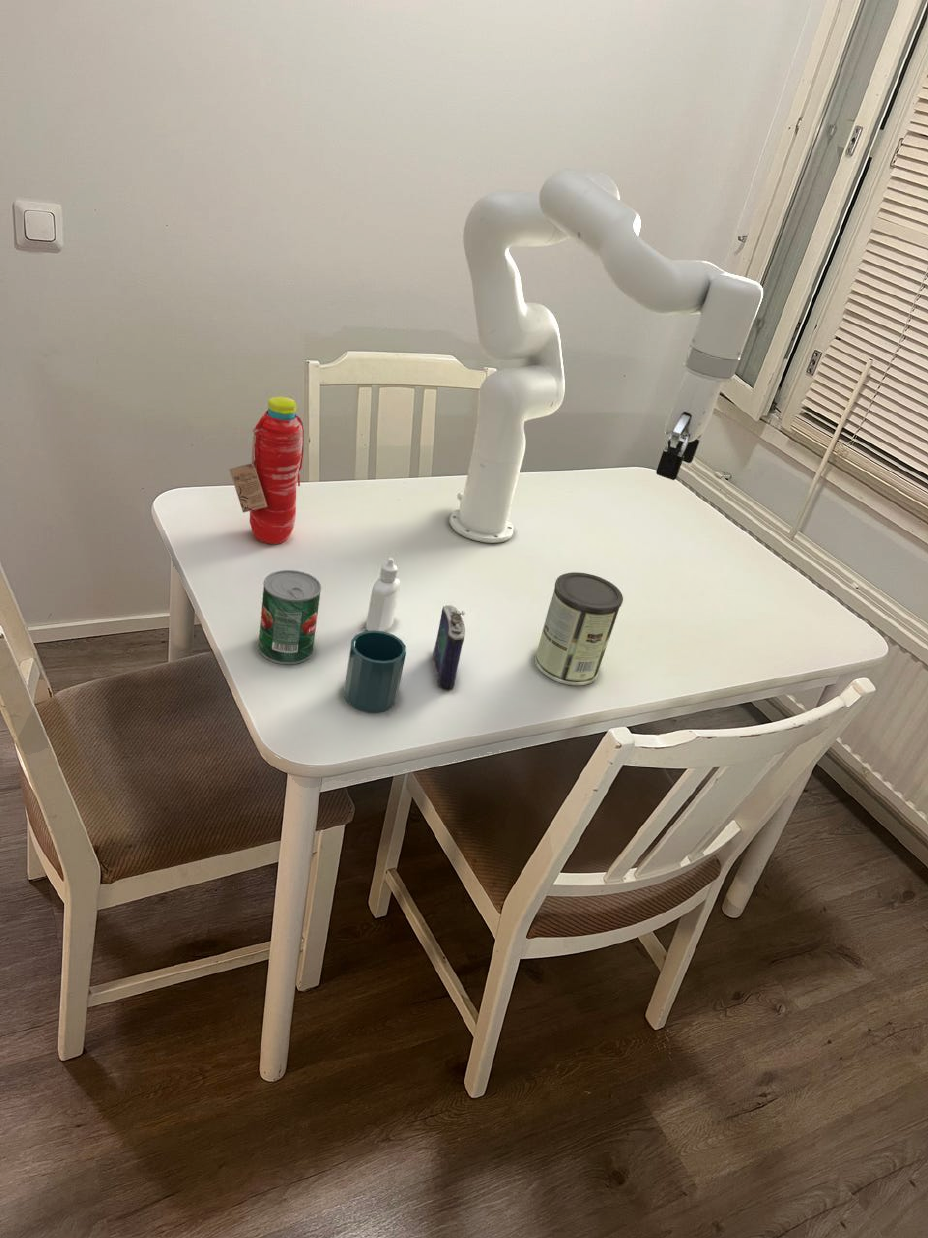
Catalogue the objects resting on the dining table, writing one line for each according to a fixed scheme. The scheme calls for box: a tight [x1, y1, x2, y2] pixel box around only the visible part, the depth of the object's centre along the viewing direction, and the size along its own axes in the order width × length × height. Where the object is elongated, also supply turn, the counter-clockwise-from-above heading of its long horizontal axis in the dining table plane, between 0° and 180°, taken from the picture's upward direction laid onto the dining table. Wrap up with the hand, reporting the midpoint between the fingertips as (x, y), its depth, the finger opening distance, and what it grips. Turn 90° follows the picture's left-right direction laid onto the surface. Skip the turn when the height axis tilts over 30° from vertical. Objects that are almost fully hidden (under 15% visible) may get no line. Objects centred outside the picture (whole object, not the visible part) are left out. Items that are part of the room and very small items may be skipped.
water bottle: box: [228, 396, 305, 545], centre depth 148 cm, size 12×8×25 cm, turn 127°
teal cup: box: [343, 630, 407, 714], centre depth 122 cm, size 7×7×8 cm
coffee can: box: [534, 571, 624, 686], centre depth 136 cm, size 10×10×14 cm
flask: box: [432, 604, 466, 691], centre depth 129 cm, size 9×3×11 cm, turn 8°
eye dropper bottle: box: [365, 557, 401, 632], centre depth 136 cm, size 4×6×12 cm
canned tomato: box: [257, 569, 322, 665], centre depth 126 cm, size 8×8×11 cm
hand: (674, 468), depth 142 cm, fingers open, 9 cm apart
